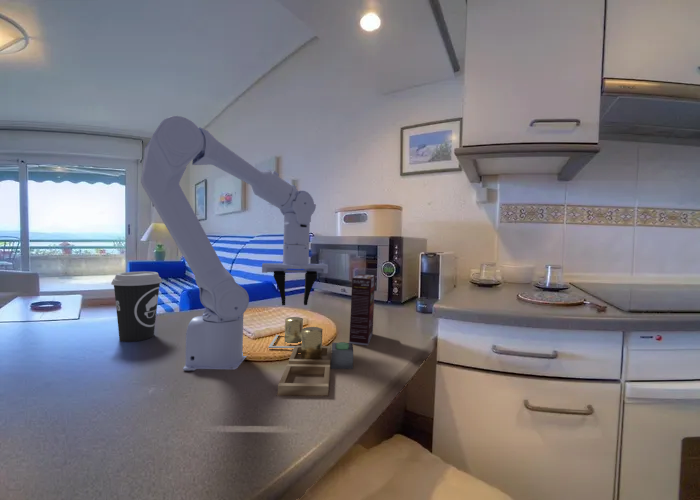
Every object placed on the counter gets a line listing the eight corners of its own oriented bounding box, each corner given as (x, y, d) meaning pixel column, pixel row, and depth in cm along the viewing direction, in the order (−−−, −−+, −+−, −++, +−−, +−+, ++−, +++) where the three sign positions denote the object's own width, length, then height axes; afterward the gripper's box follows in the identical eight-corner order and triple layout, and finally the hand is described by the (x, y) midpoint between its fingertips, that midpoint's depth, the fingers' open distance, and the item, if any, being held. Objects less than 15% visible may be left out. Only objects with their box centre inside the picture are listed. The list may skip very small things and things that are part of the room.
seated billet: (299, 364, 54) (300, 332, 54) (302, 355, 58) (303, 326, 58) (320, 364, 55) (321, 333, 54) (322, 356, 59) (323, 327, 58)
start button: (335, 367, 54) (336, 346, 54) (335, 362, 56) (336, 342, 56) (348, 367, 54) (348, 346, 54) (347, 362, 56) (348, 342, 56)
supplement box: (369, 348, 66) (371, 278, 65) (348, 345, 67) (350, 277, 66) (373, 336, 74) (375, 274, 74) (355, 334, 75) (357, 273, 75)
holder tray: (276, 399, 43) (276, 386, 43) (294, 354, 60) (294, 345, 60) (329, 400, 44) (329, 387, 44) (332, 355, 61) (332, 346, 61)
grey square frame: (268, 352, 61) (268, 346, 61) (277, 337, 70) (277, 332, 70) (311, 353, 61) (311, 347, 61) (315, 338, 71) (315, 333, 70)
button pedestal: (331, 371, 53) (331, 350, 53) (331, 362, 57) (332, 342, 57) (352, 371, 53) (353, 350, 53) (351, 362, 57) (352, 343, 57)
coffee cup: (152, 328, 74) (152, 270, 74) (168, 336, 68) (169, 274, 68) (104, 337, 66) (105, 273, 66) (118, 347, 61) (119, 277, 60)
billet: (282, 348, 64) (283, 321, 64) (286, 341, 68) (287, 316, 68) (301, 348, 64) (301, 321, 64) (303, 342, 68) (304, 317, 68)
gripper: (261, 244, 60) (259, 308, 60) (330, 246, 63) (328, 307, 63) (264, 243, 67) (262, 301, 67) (326, 245, 70) (324, 301, 70)
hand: (294, 304), depth 65 cm, fingers open, 4 cm apart
